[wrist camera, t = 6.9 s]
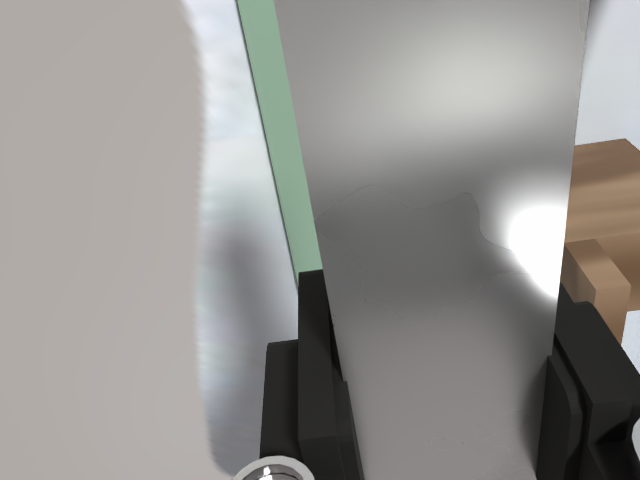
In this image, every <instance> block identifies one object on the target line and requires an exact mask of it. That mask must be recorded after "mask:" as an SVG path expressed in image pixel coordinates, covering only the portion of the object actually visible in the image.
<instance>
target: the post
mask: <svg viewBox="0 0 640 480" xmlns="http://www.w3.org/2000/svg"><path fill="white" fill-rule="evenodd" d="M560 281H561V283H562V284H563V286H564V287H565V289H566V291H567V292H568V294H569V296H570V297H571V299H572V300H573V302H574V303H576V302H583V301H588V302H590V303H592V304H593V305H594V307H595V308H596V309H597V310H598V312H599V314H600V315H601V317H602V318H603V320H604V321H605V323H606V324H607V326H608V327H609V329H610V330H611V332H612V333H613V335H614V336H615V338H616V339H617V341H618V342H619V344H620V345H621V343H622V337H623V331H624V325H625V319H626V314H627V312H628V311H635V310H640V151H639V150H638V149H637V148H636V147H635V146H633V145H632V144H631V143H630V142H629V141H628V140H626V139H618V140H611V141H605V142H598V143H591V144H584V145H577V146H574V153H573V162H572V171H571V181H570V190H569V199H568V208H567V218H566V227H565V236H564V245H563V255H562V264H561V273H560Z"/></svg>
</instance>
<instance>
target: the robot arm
mask: <svg viewBox="0 0 640 480" xmlns="http://www.w3.org/2000/svg"><path fill="white" fill-rule="evenodd" d="M536 479H537V480H640V374H639V373H638V371H637V370H636V368H635V367H634V365H633V364H632V362H631V360H630V359H629V357H628V356H627V354H626V353H625V351H624V350H623V348H622V347H621V345H620V344H619V342H618V341H617V339H616V338H615V336H614V335H613V333H612V332H611V330H610V329H609V327H608V326H607V324H606V323H605V321H604V320H603V318H602V317H601V315H600V314H599V312H598V310H597V309H596V308H595V307H594V305H593V304H592V303H590V302H588V301H583V302H576V303H574V302H573V300H572V299H571V297H570V296H569V294H568V292H567V291H566V289H565V287H564V286H563V284H562V283H561V281H560V283H559V292H558V301H557V310H556V320H555V329H554V338H553V347H552V355H548V360H547V370H546V379H545V389H544V399H543V408H542V418H541V428H540V438H539V447H538V457H537V467H536ZM232 480H365V479H364V473H363V468H362V462H361V457H360V451H359V445H358V440H357V434H356V429H355V423H354V417H353V412H352V406H351V400H350V395H349V389H348V384H347V381H343V376H342V371H341V365H340V360H339V355H338V349H337V344H336V338H335V333H334V327H333V322H332V316H331V311H330V305H329V300H328V295H327V289H326V284H325V278H324V273H323V269H319V270H312V271H305V272H299V274H298V339H296V340H289V341H281V342H273V343H268V346H267V352H266V367H265V382H264V397H263V412H262V427H261V443H260V458H259V460H256V461H253V462H252V463H250V464H249V465H247V466H246V467H244V468H243V469H241V470H240V471H239V472H238V473H237V474H236V476H235V477H234V478H233V479H232Z"/></svg>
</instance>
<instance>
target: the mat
mask: <svg viewBox="0 0 640 480" xmlns="http://www.w3.org/2000/svg"><path fill="white" fill-rule="evenodd" d="M237 2H238V6H239V11H240V16H241V20H242V25H243V30H244V35H245V39H246V44H247V49H248V53H249V58H250V63H251V68H252V72H253V77H254V82H255V86H256V91H257V96H258V100H259V105H260V110H261V115H262V119H263V124H264V129H265V133H266V138H267V143H268V147H269V152H270V157H271V162H272V166H273V171H274V176H275V180H276V185H277V190H278V194H279V199H280V204H281V209H282V213H283V218H284V223H285V227H286V232H287V237H288V242H289V246H290V251H291V256H292V260H293V265H294V270H295V274H296V279H297V284H298V274H299V272H305V271H312V270H319V269H323V267H322V262H321V256H320V251H319V246H318V240H317V235H316V229H315V224H314V218H313V213H312V207H311V202H310V197H309V191H308V186H307V180H306V175H305V169H304V164H303V158H302V153H301V148H300V142H299V137H298V131H297V126H296V120H295V115H294V109H293V104H292V99H291V93H290V88H289V82H288V77H287V71H286V66H285V60H284V55H283V50H282V44H281V39H280V33H279V28H278V22H277V17H276V11H275V6H274V1H273V0H237Z"/></svg>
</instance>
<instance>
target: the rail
mask: <svg viewBox="0 0 640 480" xmlns="http://www.w3.org/2000/svg"><path fill="white" fill-rule="evenodd" d="M273 1H274V6H275V11H276V17H277V22H278V28H279V33H280V39H281V44H282V50H283V55H284V60H285V66H286V71H287V77H288V82H289V88H290V93H291V99H292V104H293V109H294V115H295V120H296V126H297V131H298V137H299V142H300V148H301V153H302V158H303V164H304V169H305V175H306V180H307V186H308V191H309V197H310V202H311V207H312V213H313V218H314V224H315V229H316V235H317V240H318V246H319V251H320V256H321V262H322V267H323V273H324V278H325V284H326V289H327V295H328V300H329V305H330V311H331V316H332V322H333V327H334V333H335V338H336V344H337V349H338V355H339V360H340V365H341V371H342V376H343V381H347V384H348V389H349V395H350V400H351V406H352V412H353V417H354V423H355V429H356V434H357V440H358V445H359V451H360V457H361V462H362V468H363V473H364V479H365V480H537V479H536V467H537V457H538V447H539V438H540V428H541V418H542V408H543V399H544V389H545V379H546V370H547V360H548V355H552V347H553V338H554V329H555V320H556V310H557V301H558V292H559V283H560V273H561V264H562V255H563V245H564V236H565V227H566V218H567V208H568V199H569V190H570V181H571V171H572V162H573V153H574V144H575V134H576V125H577V116H578V107H579V97H580V88H581V79H582V70H583V60H584V51H585V42H586V32H587V23H588V14H589V5H590V0H273Z"/></svg>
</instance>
